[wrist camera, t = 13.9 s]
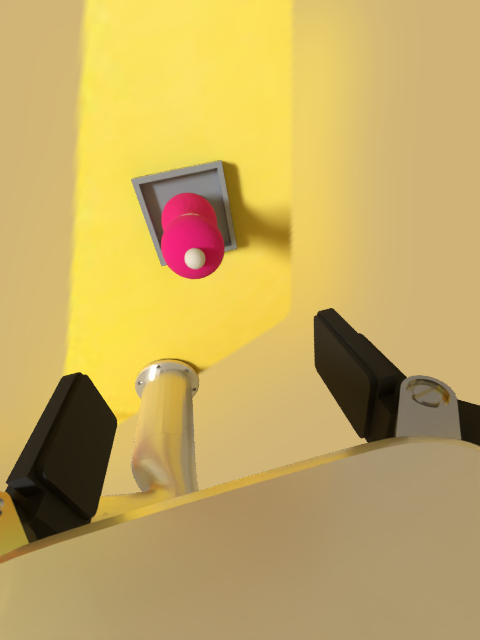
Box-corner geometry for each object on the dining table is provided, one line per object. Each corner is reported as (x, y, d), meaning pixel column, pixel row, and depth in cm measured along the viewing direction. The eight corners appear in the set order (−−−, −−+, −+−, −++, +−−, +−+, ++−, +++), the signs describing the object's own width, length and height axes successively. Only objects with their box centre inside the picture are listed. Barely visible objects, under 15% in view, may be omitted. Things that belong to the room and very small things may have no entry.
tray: (234, 244, 43) (237, 248, 41) (162, 260, 42) (161, 266, 40) (219, 160, 37) (221, 160, 35) (133, 178, 36) (131, 179, 34)
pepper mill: (156, 230, 39) (139, 285, 22) (172, 179, 36) (166, 199, 19) (203, 248, 42) (218, 310, 25) (221, 203, 39) (252, 238, 22)
